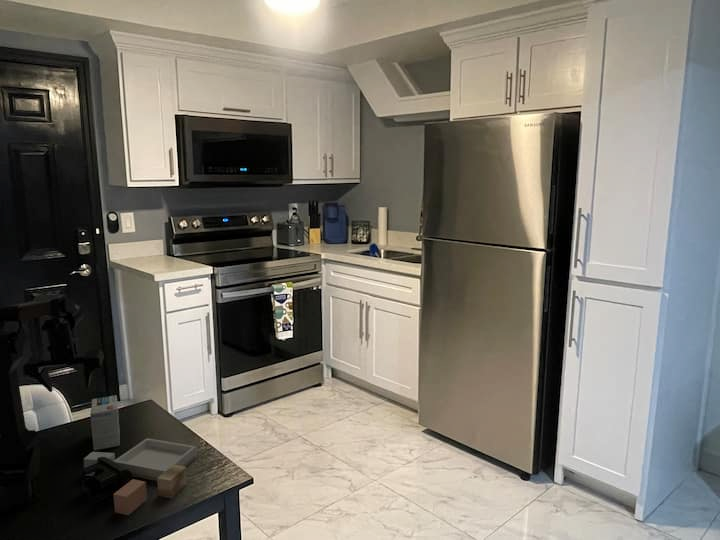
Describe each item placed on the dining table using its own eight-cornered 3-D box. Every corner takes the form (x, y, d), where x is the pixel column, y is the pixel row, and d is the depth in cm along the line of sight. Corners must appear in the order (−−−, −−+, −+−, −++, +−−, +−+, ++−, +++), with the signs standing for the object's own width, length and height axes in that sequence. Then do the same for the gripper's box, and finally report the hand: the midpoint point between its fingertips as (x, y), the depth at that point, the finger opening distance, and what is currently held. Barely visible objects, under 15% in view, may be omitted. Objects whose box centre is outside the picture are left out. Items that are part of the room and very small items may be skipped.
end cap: (134, 491, 123) (132, 465, 122) (105, 506, 117) (102, 479, 116) (112, 477, 129) (109, 452, 127) (82, 491, 123) (80, 464, 122)
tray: (166, 482, 126) (165, 471, 125) (114, 472, 131) (112, 461, 130) (196, 457, 138) (196, 446, 137) (147, 448, 142) (147, 438, 142)
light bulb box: (94, 434, 151) (90, 398, 149) (120, 429, 153) (117, 394, 152) (93, 451, 141) (89, 413, 139) (120, 445, 144) (117, 408, 142)
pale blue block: (116, 469, 132) (114, 453, 131) (107, 477, 129) (106, 460, 128) (94, 468, 133) (92, 451, 132) (85, 475, 130) (83, 458, 129)
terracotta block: (128, 515, 114) (126, 496, 113) (115, 512, 115) (113, 494, 114) (147, 499, 120) (145, 481, 119) (134, 497, 121) (132, 479, 120)
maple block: (171, 498, 120) (170, 480, 119) (158, 496, 121) (157, 478, 120) (187, 484, 126) (186, 466, 125) (174, 481, 127) (173, 464, 126)
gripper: (103, 322, 149) (111, 370, 155) (30, 328, 145) (41, 378, 150) (95, 340, 139) (104, 391, 145) (16, 347, 135) (28, 399, 140)
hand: (69, 389), depth 145 cm, fingers open, 9 cm apart
